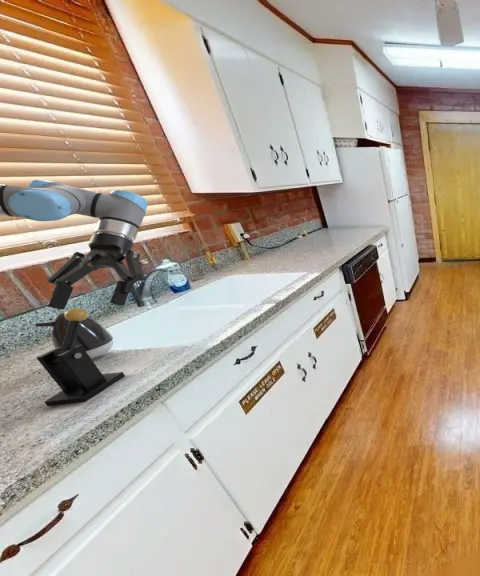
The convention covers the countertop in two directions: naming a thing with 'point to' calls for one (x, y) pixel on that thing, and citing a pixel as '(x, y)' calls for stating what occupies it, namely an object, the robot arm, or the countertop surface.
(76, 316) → the tap lever
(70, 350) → the black lever base
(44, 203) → the robot arm
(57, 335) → the dark glossy oval piece
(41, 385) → the countertop surface
